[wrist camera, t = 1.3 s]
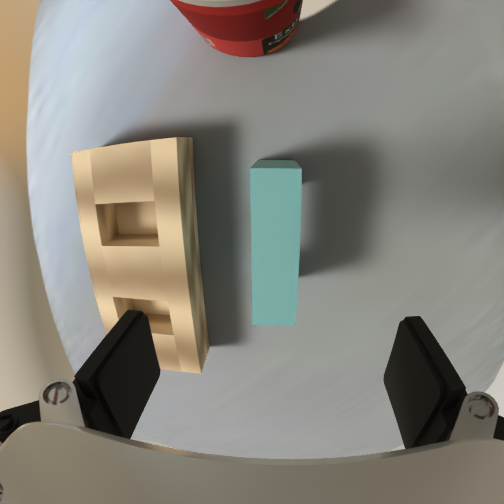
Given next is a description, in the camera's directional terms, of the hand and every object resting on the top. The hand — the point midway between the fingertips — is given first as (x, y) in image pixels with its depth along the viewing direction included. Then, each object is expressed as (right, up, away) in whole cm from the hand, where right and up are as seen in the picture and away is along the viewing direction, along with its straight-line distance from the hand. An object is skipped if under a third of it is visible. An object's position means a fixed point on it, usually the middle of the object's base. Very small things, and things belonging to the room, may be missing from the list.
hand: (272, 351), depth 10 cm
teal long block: (+1, +6, +14) cm, 15 cm away
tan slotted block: (-10, +3, +16) cm, 19 cm away
